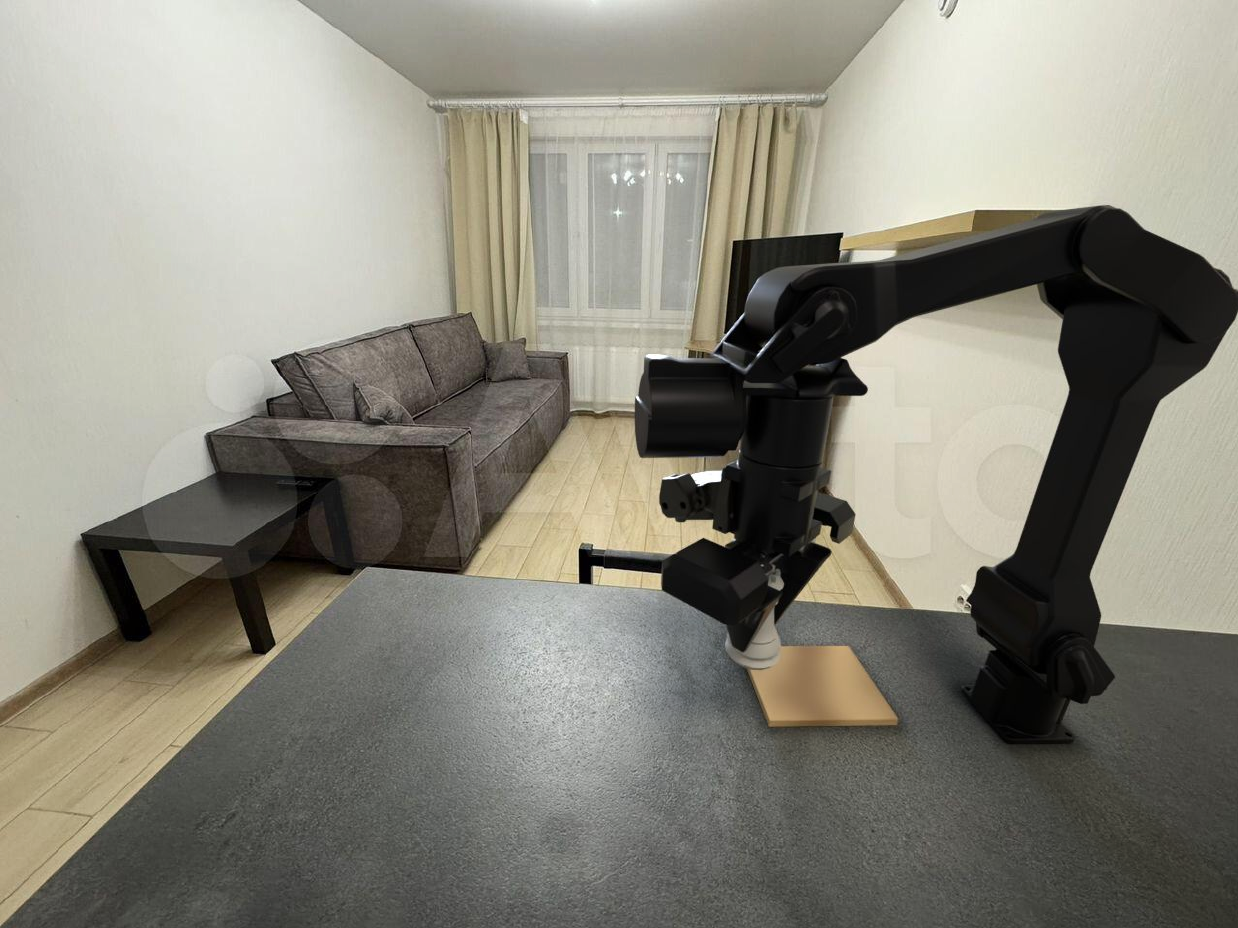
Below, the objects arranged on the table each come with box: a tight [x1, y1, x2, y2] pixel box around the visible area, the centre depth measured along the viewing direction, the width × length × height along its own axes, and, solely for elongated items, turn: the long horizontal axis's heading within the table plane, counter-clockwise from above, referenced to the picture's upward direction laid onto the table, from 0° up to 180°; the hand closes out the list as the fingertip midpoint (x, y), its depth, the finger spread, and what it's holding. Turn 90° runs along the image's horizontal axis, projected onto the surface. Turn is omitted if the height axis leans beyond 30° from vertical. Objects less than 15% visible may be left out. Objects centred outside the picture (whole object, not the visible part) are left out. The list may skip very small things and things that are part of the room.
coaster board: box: [745, 645, 899, 728], centre depth 52 cm, size 12×10×1 cm
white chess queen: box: [724, 564, 784, 670], centre depth 42 cm, size 4×4×8 cm
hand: (754, 635), depth 42 cm, fingers closed on white chess queen, 4 cm apart
